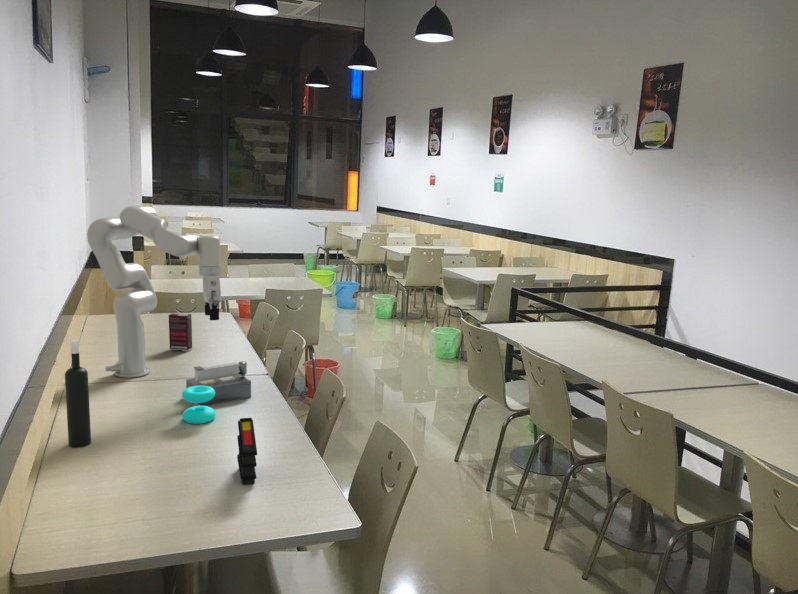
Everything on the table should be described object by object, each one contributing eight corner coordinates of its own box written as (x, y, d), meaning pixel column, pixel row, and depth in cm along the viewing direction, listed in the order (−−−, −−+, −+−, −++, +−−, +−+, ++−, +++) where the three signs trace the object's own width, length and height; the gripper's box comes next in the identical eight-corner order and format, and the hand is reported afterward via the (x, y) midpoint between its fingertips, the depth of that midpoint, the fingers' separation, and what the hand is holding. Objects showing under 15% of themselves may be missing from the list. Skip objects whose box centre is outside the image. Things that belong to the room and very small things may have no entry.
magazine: (250, 455, 181) (252, 416, 173) (255, 495, 171) (258, 455, 163) (236, 456, 180) (238, 417, 172) (240, 496, 170) (242, 457, 161)
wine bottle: (66, 448, 186) (61, 343, 180) (70, 440, 191) (65, 338, 186) (89, 446, 187) (84, 343, 182) (92, 439, 193) (87, 338, 187)
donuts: (216, 392, 206) (182, 395, 203) (217, 423, 208) (183, 426, 204) (213, 383, 215) (181, 385, 212) (214, 412, 217) (181, 415, 214)
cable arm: (244, 371, 239) (244, 359, 238) (248, 373, 236) (248, 361, 236) (194, 379, 227) (194, 366, 227) (198, 382, 225) (197, 369, 224)
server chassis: (201, 406, 222) (201, 387, 221) (186, 396, 232) (186, 377, 231) (256, 396, 234) (256, 378, 233) (240, 386, 244) (240, 369, 243)
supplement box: (192, 349, 293) (192, 313, 290) (188, 351, 288) (187, 315, 286) (173, 347, 294) (172, 312, 291) (169, 350, 289) (168, 314, 286)
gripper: (225, 273, 232) (227, 321, 235) (216, 267, 247) (218, 312, 250) (203, 274, 228) (205, 322, 231) (195, 268, 244) (197, 314, 247)
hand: (212, 317), depth 241 cm, fingers open, 9 cm apart
